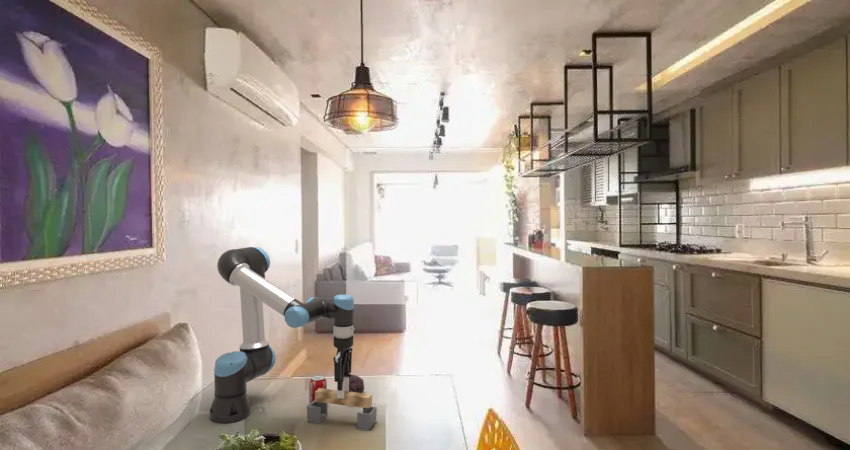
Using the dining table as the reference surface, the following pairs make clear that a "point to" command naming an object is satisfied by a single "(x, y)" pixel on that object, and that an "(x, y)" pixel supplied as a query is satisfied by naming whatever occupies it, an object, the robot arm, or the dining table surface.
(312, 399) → the soda can
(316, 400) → the slat
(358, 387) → the pine cone
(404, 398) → the dining table surface
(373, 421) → the end caps
